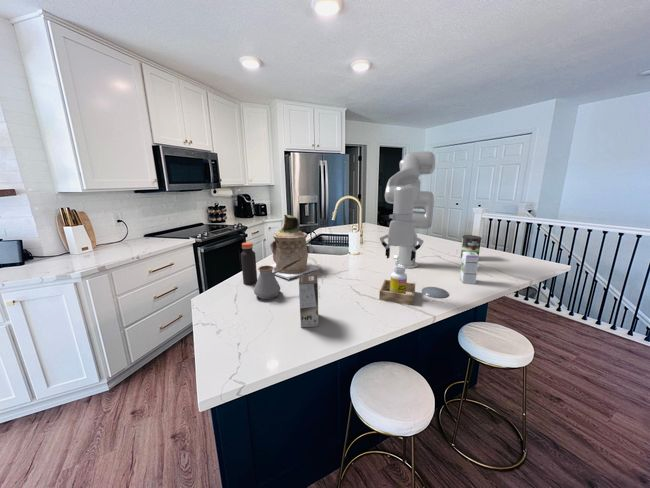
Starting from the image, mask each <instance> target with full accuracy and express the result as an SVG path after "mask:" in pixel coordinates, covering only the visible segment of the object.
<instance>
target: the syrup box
mask: <svg viewBox="0 0 650 488" xmlns="http://www.w3.org/2000/svg"><path fill="white" fill-rule="evenodd" d="M479 257H480V254H479V255H478V254H476V253H475V252H463V254H462V259H461V265H460V274H459V280H460V281H461V282H462V284H469V285H472V284H473V285H476V281H477V274H478V266H479Z"/></svg>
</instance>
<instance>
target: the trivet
mask: <svg viewBox="0 0 650 488" xmlns="http://www.w3.org/2000/svg"><path fill="white" fill-rule="evenodd" d="M421 293H422V294H423V295H425V296H427V297H430V298H435V299H445V298H448V296H449V294H450V293H449V292H448V291H447V290H445V289H444V288H440V287H436V286H426V287H422V289H421Z"/></svg>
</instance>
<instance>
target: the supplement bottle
mask: <svg viewBox="0 0 650 488" xmlns="http://www.w3.org/2000/svg"><path fill="white" fill-rule="evenodd" d="M405 272H406V268H405V267H402V266H397V265H395V266H393V272H391V274H390V280H391V282H390V289H389V292H395V293H402V294H407V291H406V284H407V283H408V282H407V281H408V276H407V273H405Z"/></svg>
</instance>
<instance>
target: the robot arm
mask: <svg viewBox="0 0 650 488" xmlns="http://www.w3.org/2000/svg"><path fill="white" fill-rule="evenodd" d="M435 168H436V157H435V154H434V153H433V152H432V151H411V152H408V153H407V154H405V155H404V156H403V159H401V160H400V161H399V171H397V172H396V173H395V174H394V175H392V176H391V177H390V178H388V181H387V183H386V187H385V191H384V199H385V202H386V203H388V204H393V208H392V209H393V210H392V211H393V212H392V214H389V215H388V218H389V219H392V220H391V221H390V222H389V228H388V233H387V234H386V235H383V236H380V237H379V241H380V243H381V245H382V246H383V248H384V249H385V256H386V259H389V258H390V256H391V255H390V254H391V253H390V252H391V248H390V247H391V246H392V247H398V255H397V254H394V255H393V260H396V261H395V266H402V267H405V269H414V268H417V267H418V266H419V263H418V262H417V261H416V257H417V250H419V249H420V248H421V247H422V246H423V244H424V243H425V242H424V240H423V239H422V238H420V237H418V234H417V233H416V231H415V229H419V230H420V229H423V230H424V229H425V230H428V229H430V228H431V227H432V225H433V217H434V206H435V205H434V204H435V195H434V194H433V192H432V191H426V190H425V191H422V190H421V180H420V179H419V177H420V175H431V174H433V173H434V172H435V171H434V170H435ZM415 209H416V210H418V211H416V210H415ZM419 210H421V211H419ZM422 210H423V211H422ZM386 239H387V242H386V241H385V240H386ZM417 243H418V244H417Z"/></svg>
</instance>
